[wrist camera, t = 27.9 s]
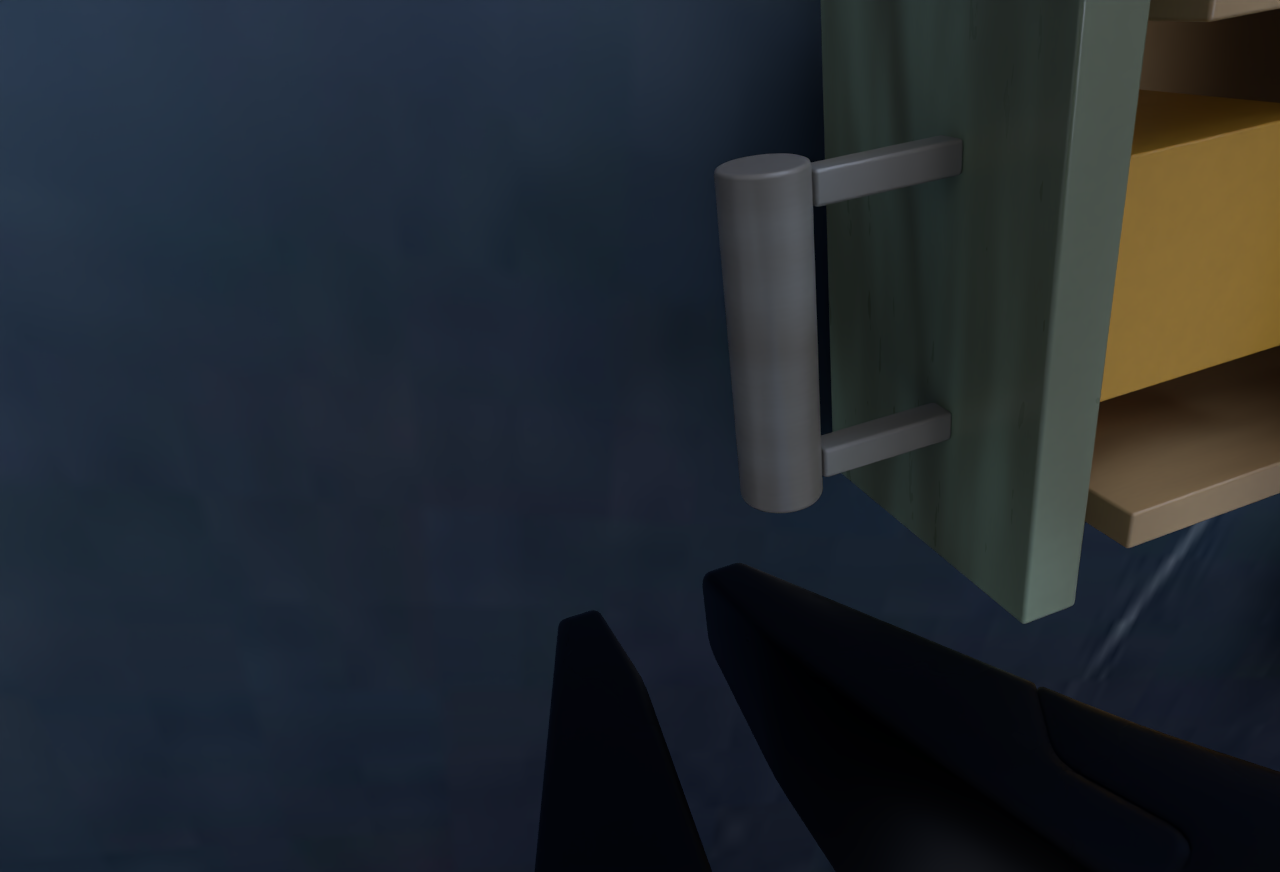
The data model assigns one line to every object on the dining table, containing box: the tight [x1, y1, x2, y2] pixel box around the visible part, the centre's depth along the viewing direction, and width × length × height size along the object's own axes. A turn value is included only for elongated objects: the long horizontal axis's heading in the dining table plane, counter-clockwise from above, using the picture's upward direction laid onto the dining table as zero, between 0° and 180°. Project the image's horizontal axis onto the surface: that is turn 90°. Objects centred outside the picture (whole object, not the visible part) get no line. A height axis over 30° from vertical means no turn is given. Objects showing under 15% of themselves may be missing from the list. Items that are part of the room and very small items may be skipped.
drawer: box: [714, 0, 1280, 624], centre depth 18 cm, size 18×11×7 cm, turn 98°
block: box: [1100, 89, 1280, 402], centre depth 18 cm, size 4×4×4 cm
